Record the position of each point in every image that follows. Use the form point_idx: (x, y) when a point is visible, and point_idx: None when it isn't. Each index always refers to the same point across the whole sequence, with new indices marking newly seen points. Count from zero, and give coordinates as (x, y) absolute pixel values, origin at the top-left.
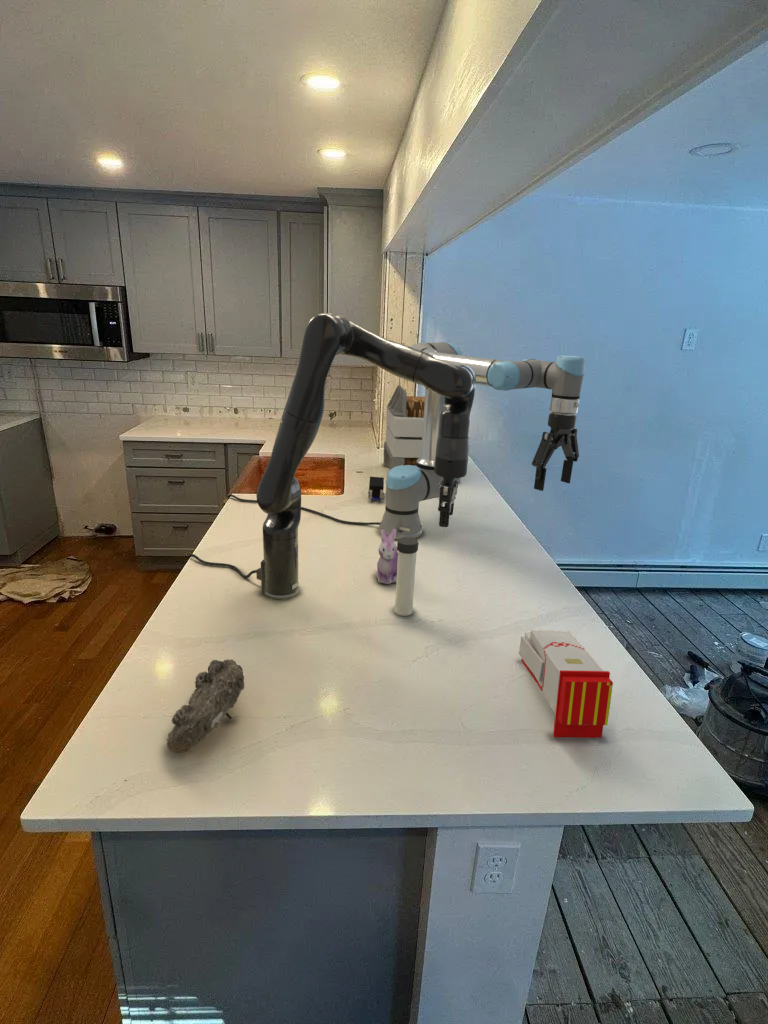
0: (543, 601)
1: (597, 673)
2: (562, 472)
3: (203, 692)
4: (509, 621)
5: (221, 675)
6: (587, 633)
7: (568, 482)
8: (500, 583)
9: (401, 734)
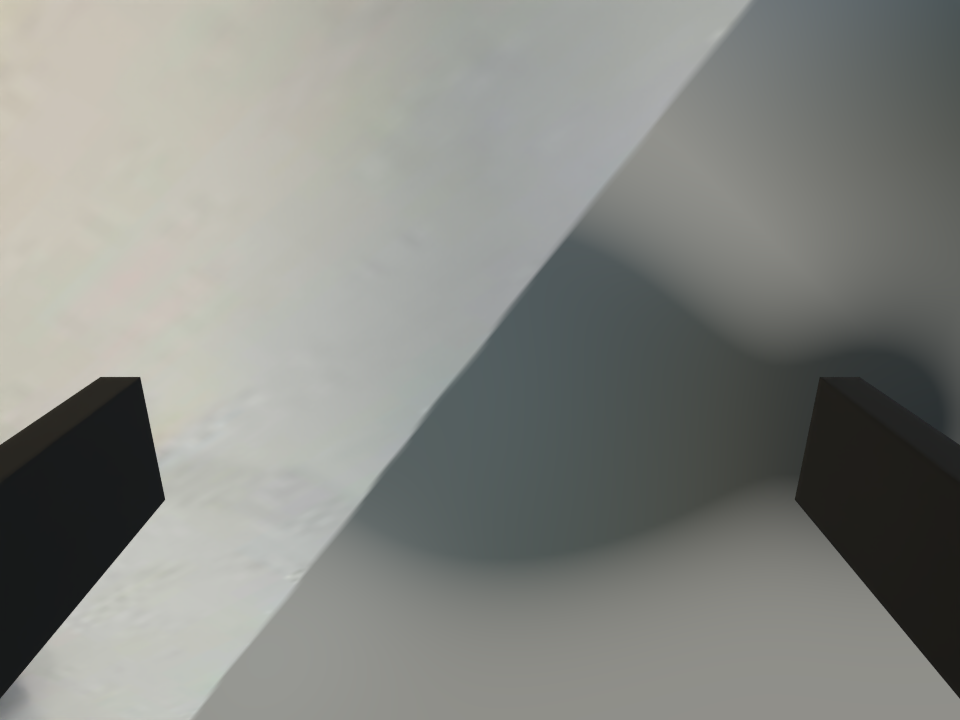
0: (260, 399)
1: None
2: (908, 457)
3: None
4: (18, 412)
5: None
6: (219, 597)
7: (800, 504)
8: (213, 182)
9: None
